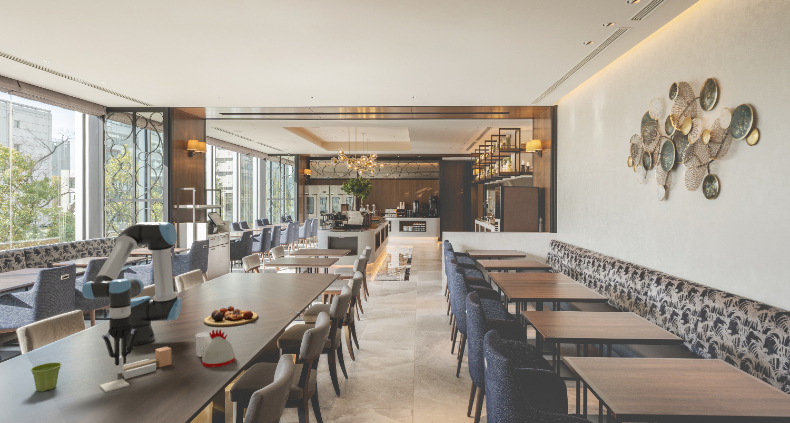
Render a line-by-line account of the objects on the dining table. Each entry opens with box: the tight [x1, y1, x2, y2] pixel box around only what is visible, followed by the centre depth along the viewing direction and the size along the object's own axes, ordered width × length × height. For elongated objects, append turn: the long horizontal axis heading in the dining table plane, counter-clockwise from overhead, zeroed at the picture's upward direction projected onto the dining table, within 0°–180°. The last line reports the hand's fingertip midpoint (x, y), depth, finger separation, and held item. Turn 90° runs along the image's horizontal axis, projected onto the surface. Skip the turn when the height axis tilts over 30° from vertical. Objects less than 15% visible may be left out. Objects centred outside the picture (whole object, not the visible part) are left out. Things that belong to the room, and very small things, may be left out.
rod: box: [120, 358, 160, 377], centre depth 183 cm, size 3×14×3 cm, turn 139°
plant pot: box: [30, 361, 63, 392], centre depth 165 cm, size 9×9×9 cm
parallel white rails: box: [117, 358, 157, 380], centre depth 181 cm, size 9×12×3 cm
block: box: [154, 346, 172, 368], centre depth 190 cm, size 5×5×7 cm
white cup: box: [195, 331, 212, 358], centre depth 203 cm, size 8×8×10 cm
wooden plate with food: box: [203, 305, 259, 328], centre depth 265 cm, size 32×32×8 cm
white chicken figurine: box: [201, 328, 236, 368], centre depth 194 cm, size 14×14×15 cm
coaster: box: [99, 378, 130, 393], centre depth 167 cm, size 8×8×1 cm
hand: (120, 372), depth 176 cm, fingers closed
